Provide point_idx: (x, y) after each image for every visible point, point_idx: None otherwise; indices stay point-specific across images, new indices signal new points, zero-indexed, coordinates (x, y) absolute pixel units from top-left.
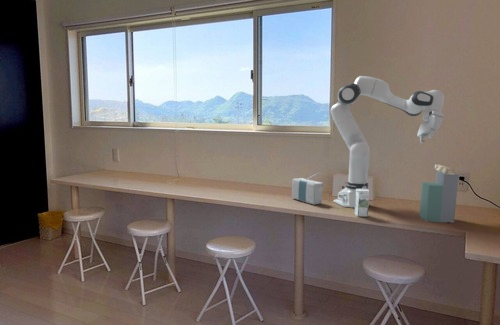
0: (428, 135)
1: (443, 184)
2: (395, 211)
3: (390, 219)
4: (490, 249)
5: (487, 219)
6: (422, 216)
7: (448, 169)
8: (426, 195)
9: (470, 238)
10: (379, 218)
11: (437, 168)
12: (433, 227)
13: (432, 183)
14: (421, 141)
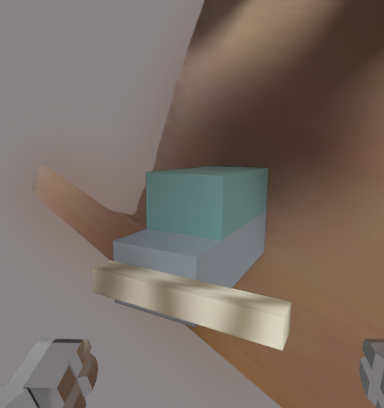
0: (61, 378)
1: (143, 230)
2: (346, 99)
3: (223, 57)
4: (56, 207)
5: (258, 366)
6: (239, 167)
7: (101, 269)
8: (186, 170)
9: (100, 207)
10: (230, 19)
11: (240, 296)
12: (160, 162)
13: (192, 210)
14: (371, 349)
